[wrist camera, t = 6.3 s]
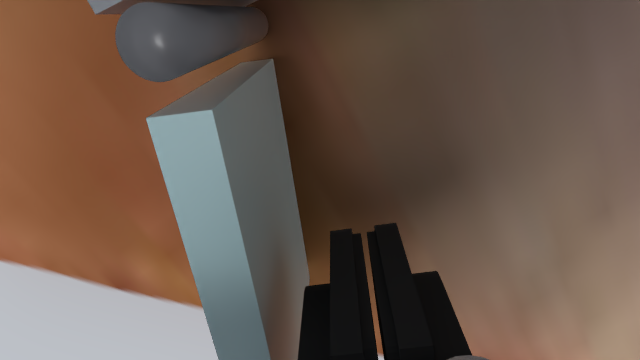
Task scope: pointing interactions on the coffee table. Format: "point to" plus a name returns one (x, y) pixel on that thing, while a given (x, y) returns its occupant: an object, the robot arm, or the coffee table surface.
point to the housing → (181, 33)
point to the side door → (237, 209)
